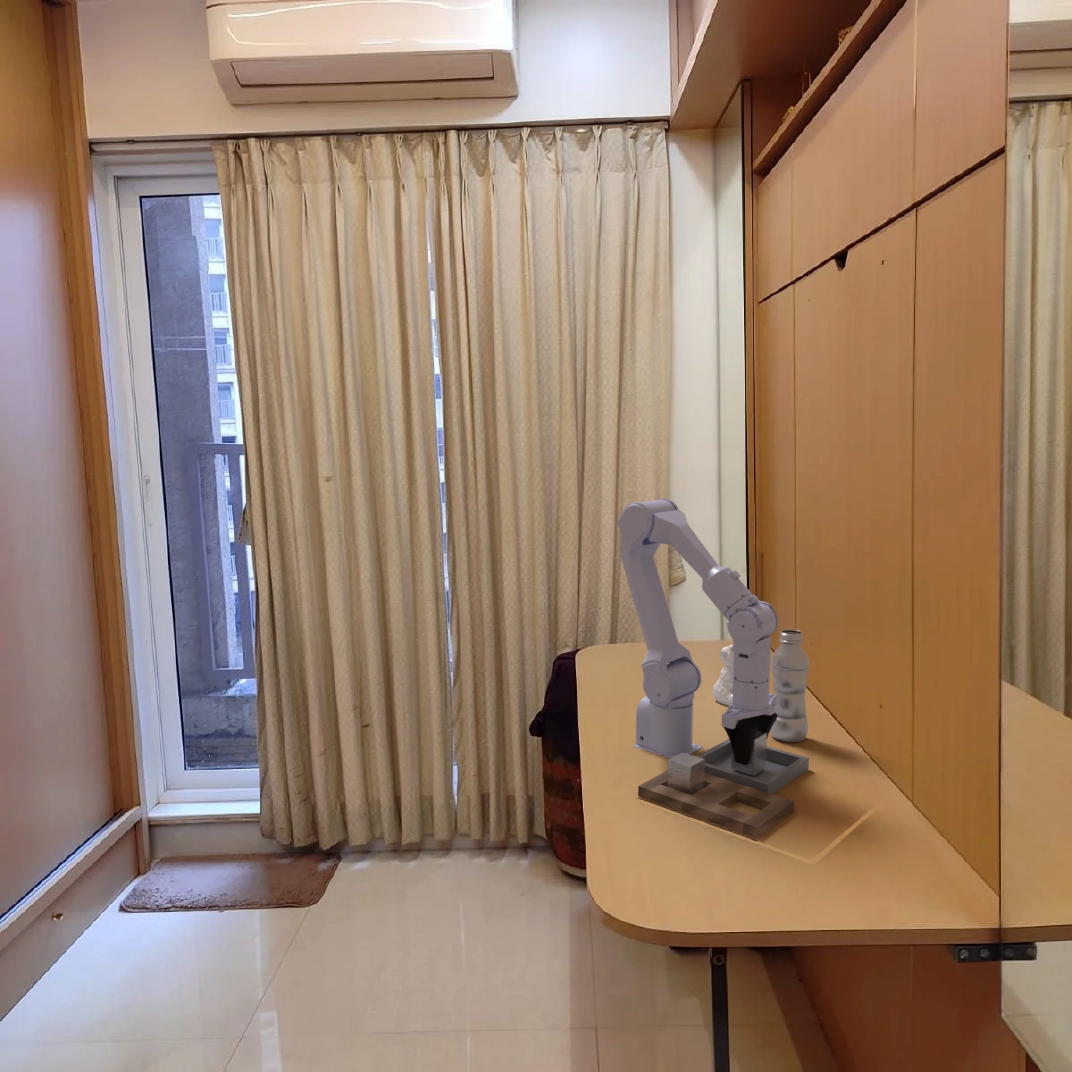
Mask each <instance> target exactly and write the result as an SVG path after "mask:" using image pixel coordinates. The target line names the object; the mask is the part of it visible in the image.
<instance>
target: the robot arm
mask: <svg viewBox="0 0 1072 1072" xmlns="http://www.w3.org/2000/svg"><path fill="white" fill-rule="evenodd" d="M687 520H688V519H687V516H686V514H685V513H684V512H683V511H682V510H681V509H679V506H678V505H677V504H676V503H675V502H674V501H673V500H672V499H669V498H666V497H665V498H664V497H662V498H659V499H654V500H653V499H652V500H646V501H633V502H630V503H628V504H627V505H626V506H625V507H624V508H623V510H622V511H621V513H620V515H619V516H618V519H617V522H616V523H617V525H618V529H619V533H620V545H619V546H620V547H619V554H620V558H621V562H622V565H623V568H624V573H625V576H626V580H627V582H628V583H627V584H628V587H629V590H630V594H631V597H632V601H633V604H634V608H635V611H636V614H637V618H638V620H639V621H638V622H639V624H640V628H641V631H642V635H643V638H644V641H645V646H646V648H647V651H646V654H645V657H644V659H643V661H642V663H641V669H642V674H643V679H642V688H643V692H644V694H645V696H643V697H642V698H641V700H640V701H639V703H638V704H637V705H638V706H637V708H636V713H635V723H636V724H635V744H633V748H636V749H639V750H643V751H646V752H648V753H649V752H650V753H653V754H656V755H658V756H661V757H665V758H668V759H671V758H673V757H674V756H676V755H678V754H680V753H682V752H683V753H687V754H690V755H692V754H693V753H695V752H697V751H698V750H700V749H703V746H702V745H699V744H697V743H693V721H694V720H693V719H694V699H695V692H697V690H699V688H700V686H701V684H702V673H701V670H700V668H699V666H698V665H697V664H696V663H695V662H694V659H692V658H693V657H692V656H691V652H690V650H689V649H688V648H687V647H686V646H684V645H683V644H681V643H680V642H679V640H678V636H677V632H676V630H675V626H674V623H673V619H672V615H671V612H670V608H669V606H668V603H667V599H666V596H665V593H664V588H663V586H662V582H661V579H660V575H659V572H658V569H657V565H656V562H655V559H654V556H655V554H656V552H657V550H658V549H659V547H660V545H661V544H663V545H668V546H669V545H670V546H671V547H672V548H673V549H674V550H675V551H676V552H677V553H678V554H679V556H681V558H682V559H683V560H684V561H685V562H686V563H687V564H688V565H689V566H690V568H692V569H693V570H694V571H695V573H696V574H697V575H699V576H700V578H701V579H702V583H701V584H702V585H701V586H702V587H701V589H702V591H703V593H704V594H705V595H706V596H707V597H708V598H709V599H710V601H711V602H712V604H713V605H714V606H715V607H716V608H717V610H718V611H719V612H720V613H721V615H723V616H724V618H725V620H727V621H728V622H726V629H727V631H728V633H729V635H730V637H731V639H732V643H733V644H732V645H733V648H734V662H733V696H732V702H731V704H730V706H728V708H727V709H726V710H725V712H723V714H721V727H722V728H723V729H724V730H725V732H726V735H727V737H728V739H729V740H730V743H731V746H732V750H733V755H734V759H735V762H736V763H740V764H743V765H747V764H748V763H749V760H750V755H751V747H752V743H753V739H754V736H755V734H756V732H757V730H758V731H761V732H765V733H767V739H768V738H769V735H770V730H771V728H772V726H773V724H774V722H775V721H776V719H777V714H776V713H775V708H772V707H776V706H777V695H774V693H770V681H771V679H770V677H771V652H772V651H771V650H772V649H771V645H772V637H771V635H773V634H774V633H775V632H776V630H777V628H778V624H779V617H778V615H777V613H776V611H775V610H774V608H773V606H772V605H771V604H770V603H768V602H767V601H762V600H759V597H757V595H756V594H752V592H751V591H750V590H749V589H748V588H747V586H746V585H745V584H744V582H743V581H742V580H741V579H740V577H741V574H740V573H739V572H738V570H732V569H731V568H730V567H728V566H720V565H719V564H718V563H717V562H716V560H715V559H714V557H713V556H712V555H711V553H710V552H709V550H708V549H707V548H706V547H705V545H704V544H703V543H702V541H701V539H699V537H698V536H697V535H696V533H695V532H694V530H693V529H692V528H691V527H690V525H689V523H688V521H687Z"/></svg>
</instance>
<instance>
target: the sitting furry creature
mask: <svg viewBox="0 0 1072 1072" xmlns="http://www.w3.org/2000/svg"><path fill="white" fill-rule="evenodd" d="M718 656H719V657H720V660H721V662H722V664H723V665H724V666H723V668H721V670H720V675H719V677H718V679H717V680H716V682H714V685H713V687H712V695H713V697H714V699H715V700H716V701H717V702H718V703H719V704H721V705H725V706H728V707H729V706H730V704H731V702H732V696H733V662H734V648H733V644H729V645H728V646H724V647H722V650H721V651H719V655H718Z"/></svg>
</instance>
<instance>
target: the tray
mask: <svg viewBox="0 0 1072 1072" xmlns="http://www.w3.org/2000/svg"><path fill="white" fill-rule="evenodd" d="M696 756H697V757H700V758H703V759H705V773H707V774H710V775H713V776H716V777H720V778H723V779H726V780H729V781H732V782H735V783H739V784H742V785H745V786H748V787H751V788H755V789H758V790H761V791H764V792H767V793H770V794H774V795H775V794H776V793H777V792H778V791H780V790H781V789H782V788H784V787H785V786H787V785H788V784H789V783H791V782H793V781H794V780H795V779H796V780H797V778H799V777H801V775H803V774H804V773H806V772H808V771H809V768H810V767H809V762H810V761H809V760H810V758H809V757H807V756H804V755H801V754H800V755H799V754H797V753H793V752H789V751H785V750H782V749H779V748H775V747H771V746H767V745H766V768H765V769H763V770H762V771H760V772H759V773H757V774H756V775H754V776H753V775H750V774H746V773H743V772H740V771H737V770H733V769H731V764H732V746H731V743H730V740H729V738H728V739H726V740H723V741H722V742H720V743H718V744H717V745H715V746H713V747H710V748H709V749H707V750H706V751H703V752H702V753H700V754H697V755H696Z"/></svg>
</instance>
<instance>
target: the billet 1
mask: <svg viewBox="0 0 1072 1072" xmlns="http://www.w3.org/2000/svg"><path fill="white" fill-rule="evenodd" d="M697 756H698V755H693V754H687V753H683V752H682V753H680V754H678V755H676V756H674V757H673V758H668V760H667V770H668V787H669V788H672V789H675V790H678V791H681V792H684V793H687V794H690V795H693V794H695V793H696V792H698V791H700V790H701V789H703V788H704V776H705V759H703V758H700V757H697Z"/></svg>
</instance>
